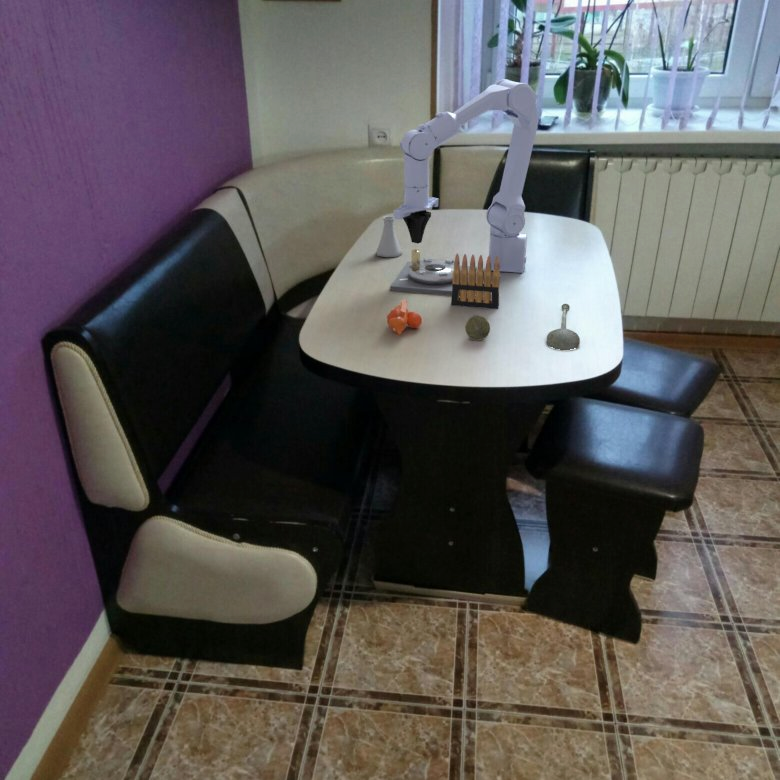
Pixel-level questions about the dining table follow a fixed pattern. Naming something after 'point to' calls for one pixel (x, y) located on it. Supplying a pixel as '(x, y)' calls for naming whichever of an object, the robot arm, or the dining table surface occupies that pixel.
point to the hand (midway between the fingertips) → (416, 242)
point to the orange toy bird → (403, 318)
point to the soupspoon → (563, 335)
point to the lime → (477, 327)
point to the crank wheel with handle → (431, 270)
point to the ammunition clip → (476, 284)
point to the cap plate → (420, 284)
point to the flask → (388, 240)
